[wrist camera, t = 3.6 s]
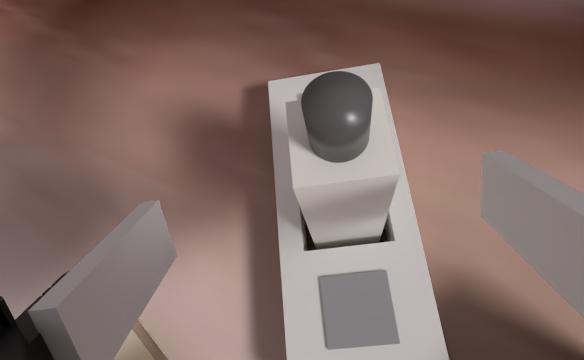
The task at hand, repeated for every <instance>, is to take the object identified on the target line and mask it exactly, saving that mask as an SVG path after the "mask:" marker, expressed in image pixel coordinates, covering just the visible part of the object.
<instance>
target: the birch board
mask: <svg viewBox="0 0 584 360" xmlns="http://www.w3.org/2000/svg"><path fill="white" fill-rule="evenodd" d="M113 360H168V359H167V358H166V357H165V355H164V354H163V353H162V351H161V350H160V349H159V348H158V346H157V345H156V344H155V342H154V341H153V340H152V338H151V337H150V336H149V334H148V333H147V332H146V331H145V329H144V328H143V327H142V325H141V324H140V323H139V321H138V320H137V322H136V323H135V325H134V326H133V328H132V330H131V331H130V333H129V335H128V336H127V338H126V340H125V341H124V343H123V344H122V346H121V348H120V349H119V351H118V353H117V354H116V356H115V357H114V359H113Z"/></svg>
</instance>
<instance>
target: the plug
mask: <svg viewBox="0 0 584 360" xmlns="http://www.w3.org/2000/svg"><path fill="white" fill-rule="evenodd" d="M285 105H286V116H287V127H288V138H289V149H290V161H291V172H292V183H293V190H294V192H295V195H296V198H297V200H298V203H299V205H300V208H301V211H302V213H303V216H304V218H305V221H306V224H307V226H308V229H309V231H310V234H311V237H312V239H313V242H314V244H315V247H316V250H320V249H329V248H337V247H346V246H355V245H363V244H372V243H379V241H380V238H381V235H382V232H383V228H384V225H385V222H386V218H387V215H388V212H389V209H390V205H391V202H392V199H393V195H394V192H395V189H396V185H397V182H398V179H399V176H400V173H399V168H398V164H397V159H396V155H395V150H394V146H393V142H392V137H391V133H390V128H389V124H388V119H387V115H386V111H385V106H384V102H383V97H382V93H381V89H380V87H379V88H373V89H370V87H369V85H368V84H367V83H366V81H365V80H363V79H362V78H361V77H359V76H358V75H355V74H353V73H350V72H345V71H333V72H328V73H325V74H322V75H320V76H318V77H316V78H315V79H313V80H312V81H311V82H310V83H309V84H308V85H307V86H306V88H305V90H304V92H303V94H302V98H301V100H297V101H290V102H285Z"/></svg>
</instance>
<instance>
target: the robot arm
mask: <svg viewBox="0 0 584 360" xmlns="http://www.w3.org/2000/svg"><path fill="white" fill-rule="evenodd" d="M481 217H482V218H483V219H484V220H485V221H486V222H487V223H488V224H489V225H490V226H491V227H492V228H493V229H494V230H495V231H496V232H497V233H498V234H499V235H500V236H501V237H502V238H503V239H504V240H505V241H506V242H507V243H508V244H509V245H510V246H511V247H512V248H513V249H514V250H515V251H516V252H517V253H518V254H519V255H520V256H521V257H523V258H524V259H525V260H526V261H527V262H528V263H529V264H530V265H531V266H532V267H533V268H534V269H535V270H536V271H537V272H538V273H539V274H540V275H541V276H542V277H543V278H544V279H545V280H546V281H547V282H548V283H549V284H550V285H551V286H552V287H553V288H554V289H555V290H556V291H557V292H558V293H559V294H560V295H561V296H562V297H563V298H564V299H565V300H566V301H567V302H568V303H569V304H570V305H571V306H572V307H573V308H574V309H575V310H576V311H577V312H578V313H579V314H580V315H581V316H582V317H583V318H584V194H583V193H581V192H579V191H578V190H576V189H574V188H572V187H570V186H568V185H566V184H565V183H563V182H561V181H559V180H557V179H555V178H553V177H552V176H550V175H548V174H546V173H544V172H542V171H540V170H539V169H537V168H535V167H533V166H531V165H529V164H527V163H526V162H524V161H522V160H520V159H518V158H516V157H514V156H513V155H511V154H509V153H507V152H505V151H503V150H502V151H495V152H488V153H482V200H481ZM176 256H177V255H176V252H175V248H174V245H173V242H172V239H171V236H170V233H169V230H168V227H167V224H166V220H165V217H164V214H163V211H162V208H161V205H160V202H159V200H153V201H146V202H141V203H140V204H139V205H138V206H137V207H136V208H135V209H134V210H133V211H132V212H131V213H130V214H129V215H128V216H127V217H126V218H125V219H123V220H122V221H121V222H120V223H119V224H118V225H117V226H116V227H115V228H114V229H113V230H112V231H111V232H110V233H109V234H108V235H107V236H106V237H105V238H104V239H103V240H102V241H100V242H99V243H98V244H97V245H96V246H95V247H94V248H93V249H92V250H91V251H90V252H89V253H88V254H87V255H86V256H85V257H84V258H83V259H82V260H81V261H80V262H79V263H77V264H76V265H75V266H74V267H73V268H72V269H71V270H70V271H68V272H67V273H65V274H64V275H62V276H61V277H60V278H59V279H58V280H57V281H56V282H55V283H54V284H53V285H52V287H51V288H48V289H47V290H46V291H45V292H44V293H43V294H42V296H40V297H39V298H38V299H37V300H36V301H35V302H34V303H32V304H31V305H30V306H29V307H28V308H27V309H26V310H25V311H24V312H23V313H22V314H21V315H20V316H19V317H18V318H17V319H16V320H15V319H14V317H13V316H12V314H11V312H10V310H9V308H8V306H7V304H6V303H5V301H4V299H3V298H2V296H0V360H113V359H114V357H115V356H116V354H117V353H118V351H119V349H120V348H121V346H122V344H123V343H124V341H125V340H126V338H127V336H128V335H129V333H130V331H131V330H132V328H133V326H134V325H135V323H136V322H137V320H138V318H139V317H140V315H141V313H142V312H143V310H144V309H145V307H146V305H147V304H148V302H149V300H150V299H151V297H152V295H153V294H154V292H155V291H156V289H157V287H158V286H159V284H160V282H161V281H162V279H163V278H164V276H165V274H166V273H167V271H168V269H169V268H170V266H171V264H172V263H173V261H174V260H175V258H176Z"/></svg>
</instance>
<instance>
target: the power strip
mask: <svg viewBox="0 0 584 360" xmlns="http://www.w3.org/2000/svg"><path fill="white" fill-rule="evenodd" d="M334 71H345V72H350V73H353V74H355V75H358V76H359V77H361V78H362V79H363V80H365V81H366V83H367V84H368V85H369V87H370V89H373V88H379V87H380V89H381V93H382V97H383V102H384V106H385V111H386V115H387V119H388V124H389V128H390V133H391V137H392V142H393V146H394V150H395V155H396V159H397V164H398V168H399V173H400V176H399V179H398V182H397V185H396V189H395V192H394V195H393V199H392V202H391V205H390V209H389V212H388V215H387V218H386V222H385V230H386V235H387V240H388V242H381V243H372V244H363V245H355V246H346V247H337V248H329V249H320V250H311V251H308V247H307V237H306V227H305V218H304V216H303V213H302V211H301V208H300V205H299V203H298V200H297V198H296V195H295V192H294V190H293V183H292V172H291V161H290V149H289V138H288V127H287V116H286V105H285V102H290V101H297V100H301V98H302V94H303V92H304V90H305V88H306V86H307V85H308V84H309V83H310V82H311V81H312V80H313V79H315V78H316V77H318V76H320V75H322V74H325V73H328V72H333V71H328V72H321V73H315V74H309V75H303V76H297V77H291V78H285V79H279V80H273V81H268V88H269V102H270V117H271V132H272V147H273V162H274V177H275V192H276V207H277V222H278V237H279V251H280V266H281V281H282V296H283V311H284V326H285V341H286V356H287V360H449V357H448V352H447V348H446V344H445V340H444V335H443V331H442V327H441V323H440V318H439V314H438V310H437V305H436V301H435V297H434V293H433V288H432V284H431V280H430V275H429V271H428V267H427V263H426V258H425V254H424V250H423V246H422V241H421V237H420V233H419V228H418V224H417V220H416V216H415V211H414V207H413V203H412V199H411V194H410V190H409V186H408V181H407V177H406V173H405V169H404V164H403V160H402V156H401V152H400V147H399V143H398V139H397V134H396V130H395V126H394V122H393V117H392V113H391V109H390V104H389V100H388V96H387V92H386V87H385V83H384V79H383V75H382V70H381V66H380V63H376V64H370V65H364V66H358V67H352V68H346V69H340V70H334Z"/></svg>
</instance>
